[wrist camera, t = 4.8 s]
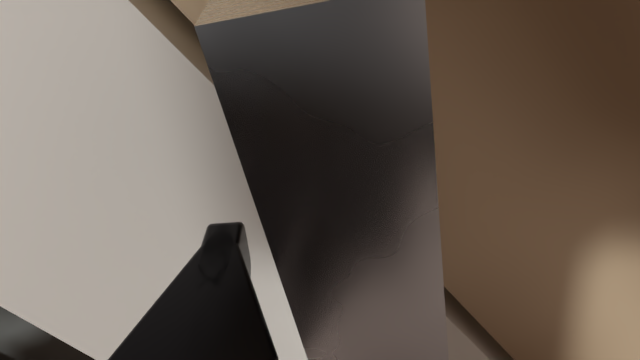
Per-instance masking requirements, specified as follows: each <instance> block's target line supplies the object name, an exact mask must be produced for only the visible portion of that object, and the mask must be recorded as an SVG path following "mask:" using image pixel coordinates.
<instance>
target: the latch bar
mask: <svg viewBox="0 0 640 360" xmlns="http://www.w3.org/2000/svg"><path fill="white" fill-rule="evenodd" d="M194 28H195V31H196V33H197V36H198V39H199V42H200V45H201V48H202V51H203V54H204V57H205V60H206V63H207V66H208V69H209V72H210V74H211V77H212V80H213V83H214V86H215V89H216V92H217V95H218V98H219V101H220V104H221V107H222V110H223V113H224V116H225V118H226V121H227V124H228V127H229V130H230V133H231V136H232V139H233V142H234V145H235V148H236V151H237V154H238V157H239V160H240V162H241V165H242V168H243V171H244V174H245V177H246V180H247V183H248V186H249V189H250V192H251V195H252V198H253V201H254V204H255V206H256V209H257V212H258V215H259V218H260V221H261V224H262V227H263V230H264V233H265V236H266V239H267V242H268V245H269V248H270V250H271V253H272V256H273V259H274V262H275V265H276V268H277V271H278V274H279V277H280V280H281V283H282V286H283V289H284V292H285V294H286V297H287V300H288V303H289V306H290V309H291V312H292V315H293V318H294V321H295V324H296V327H297V330H298V333H299V335H300V338H301V341H302V344H303V347H304V350H305V353H306V356H307V359H308V360H449V358H448V343H447V328H446V312H445V297H444V282H443V266H442V251H441V236H440V220H439V205H438V190H437V174H436V159H435V144H434V129H433V113H432V98H431V83H430V67H429V52H428V37H427V21H426V6H425V0H209V1H208V3H207V4H206V6H205V8H204V10H203V11H202V13H201V15H200V17H199V19H198V20H197V22H196V24H195V26H194Z"/></svg>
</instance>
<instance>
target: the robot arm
mask: <svg viewBox="0 0 640 360" xmlns="http://www.w3.org/2000/svg"><path fill="white" fill-rule="evenodd" d="M108 360H279V359H278V355H277V352H276V349H275V347H274V344H273V341H272V338H271V335H270V332H269V329H268V327H267V324H266V321H265V318H264V315H263V312H262V309H261V306H260V304H259V301H258V298H257V295H256V292H255V289H254V286H253V284H252V281H251V260H250V253H249V247H248V242H247V236H246V231H245V226H244V224H243V223H242V222H228V223H213V224H210V225H208V227H207V229H206V232H205V235H204V238H203V241H202V244H201V247H200V248H199V249H198V250H197V252H196V253H195V254H194V255H193V256H192V258H191V259H190V260H189V261H188V263H187V264H186V265H185V266H184V267H183V269H182V270H181V271H180V272H179V273H178V275H177V276H176V277H175V278H174V280H173V281H172V282H171V283H170V284H169V286H168V287H167V288H166V289H165V291H164V292H163V293H162V294H161V295H160V297H159V298H158V299H157V300H156V301H155V303H154V304H153V305H152V306H151V308H150V309H149V310H148V311H147V312H146V314H145V315H144V316H143V317H142V318H141V320H140V321H139V322H138V323H137V325H136V326H135V327H134V328H133V329H132V331H131V332H130V333H129V334H128V335H127V337H126V338H125V339H124V340H123V342H122V343H121V344H120V345H119V346H118V348H117V349H116V350H115V351H114V353H113V354H112V355H111V356H110V357H109V359H108Z"/></svg>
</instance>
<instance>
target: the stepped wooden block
mask: <svg viewBox="0 0 640 360" xmlns="http://www.w3.org/2000/svg"><path fill="white" fill-rule="evenodd" d="M171 1H172V3H173V4H174V5H175V6H176V7H177V8H178V9H179V10H180V11H181V12H182V13H183V14H184V15H185V16H186V17H187V18H188V19H189V20H190V21H191V22H192V23H193V24H194V26H195V24H196V22H197V20H198V19H199V17H200V15H201V13H202V11H203V10H204V8H205V6H206V4H207V3H208V1H209V0H171ZM425 6H426V21H427V37H428V52H429V67H430V83H431V98H432V113H433V129H434V144H435V159H436V174H437V190H438V205H439V220H440V236H441V251H442V266H443V282H444V287H445V288H446V289H447V290H448V291H449V292H450V293H451V294H452V295H453V296H454V297H455V298H456V299H457V300H458V301H459V303H460V304H461V305H462V306H463V307H464V308H465V309H466V310H467V311H468V312H469V313H470V314H471V315H472V316H473V317H474V318H475V319H476V320H477V321H478V322H479V323H480V324H481V326H482V327H483V328H484V329H485V330H486V331H487V332H488V333H489V334H490V335H491V336H492V337H493V338H494V339H495V340H496V341H497V342H498V343H499V344H500V345H501V346H502V347H503V349H504V350H505V351H506V352H507V353H508V354H509V355H510V356H511V357H512V358H513V359H514V360H640V0H425Z"/></svg>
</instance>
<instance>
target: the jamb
mask: <svg viewBox="0 0 640 360" xmlns="http://www.w3.org/2000/svg"><path fill="white" fill-rule="evenodd" d="M228 222H242V223H243V224H244V226H245V231H246V236H247V242H248V247H249V253H250V260H251V281H252V284H253V286H254V289H255V292H256V295H257V298H258V301H259V304H260V306H261V309H262V312H263V315H264V318H265V321H266V324H267V327H268V329H269V332H270V335H271V338H272V341H273V344H274V347H275V349H276V352H277V355H278V359H279V360H308V359H307V356H306V353H305V350H304V347H303V344H302V341H301V338H300V335H299V333H298V330H297V327H296V324H295V321H294V318H293V315H292V312H291V309H290V306H289V303H288V300H287V297H286V294H285V292H284V289H283V286H282V283H281V280H280V277H279V274H278V271H277V268H276V265H275V262H274V259H273V256H272V253H271V250H270V248H269V245H268V242H267V239H266V236H265V233H264V230H263V227H262V224H261V221H260V218H259V215H258V212H257V209H256V206H255V204H254V201H253V198H252V195H251V192H250V189H249V186H248V183H247V180H246V177H245V174H244V171H243V168H242V165H241V162H240V160H239V157H238V154H237V151H236V148H235V145H234V142H233V139H232V136H231V133H230V130H229V127H228V124H227V121H226V118H225V116H224V113H223V110H222V107H221V104H220V101H219V98H218V95H217V92H216V89H215V86H214V83H213V80H212V77H211V74H210V72H209V69H208V66H207V63H206V60H205V57H204V54H203V51H202V48H201V45H200V42H199V39H198V36H197V33H196V31H195V28H194V24H193V23H192V22H191V21H190V20H189V19H188V18H187V17H186V16H185V15H184V14H183V13H182V12H181V11H180V10H179V9H178V8H177V7H176V6H175V5H174V4H173V3H172V1H171V0H0V306H1V307H3V308H5V309H6V310H8V311H10V312H12V313H13V314H15V315H17V316H19V317H21V318H22V319H24V320H26V321H28V322H29V323H31V324H33V325H35V326H37V327H38V328H40V329H42V330H44V331H45V332H47V333H49V334H51V335H53V336H54V337H56V338H58V339H60V340H61V341H63V342H65V343H67V344H69V345H70V346H72V347H74V348H76V349H77V350H79V351H81V352H83V353H85V354H86V355H88V356H90V357H92V358H93V359H95V360H108V359H109V357H110V356H111V355H112V354H113V353H114V351H115V350H116V349H117V348H118V346H119V345H120V344H121V343H122V342H123V340H124V339H125V338H126V337H127V335H128V334H129V333H130V332H131V331H132V329H133V328H134V327H135V326H136V325H137V323H138V322H139V321H140V320H141V318H142V317H143V316H144V315H145V314H146V312H147V311H148V310H149V309H150V308H151V306H152V305H153V304H154V303H155V301H156V300H157V299H158V298H159V297H160V295H161V294H162V293H163V292H164V291H165V289H166V288H167V287H168V286H169V284H170V283H171V282H172V281H173V280H174V278H175V277H176V276H177V275H178V273H179V272H180V271H181V270H182V269H183V267H184V266H185V265H186V264H187V263H188V261H189V260H190V259H191V258H192V256H193V255H194V254H195V253H196V252H197V250H198V249H199V248H200V247H201V244H202V241H203V238H204V235H205V232H206V229H207V227H208V225H210V224H213V223H228ZM444 297H445V312H446V328H447V343H448V358H449V360H514V359H513V358H512V357H511V356H510V355H509V354H508V353H507V352H506V351H505V350H504V349H503V347H502V346H501V345H500V344H499V343H498V342H497V341H496V340H495V339H494V338H493V337H492V336H491V335H490V334H489V333H488V332H487V331H486V330H485V329H484V328H483V327H482V326H481V324H480V323H479V322H478V321H477V320H476V319H475V318H474V317H473V316H472V315H471V314H470V313H469V312H468V311H467V310H466V309H465V308H464V307H463V306H462V305H461V304H460V303H459V301H458V300H457V299H456V298H455V297H454V296H453V295H452V294H451V293H450V292H449V291H448V290H447V289H446V288H445V287H444Z"/></svg>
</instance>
